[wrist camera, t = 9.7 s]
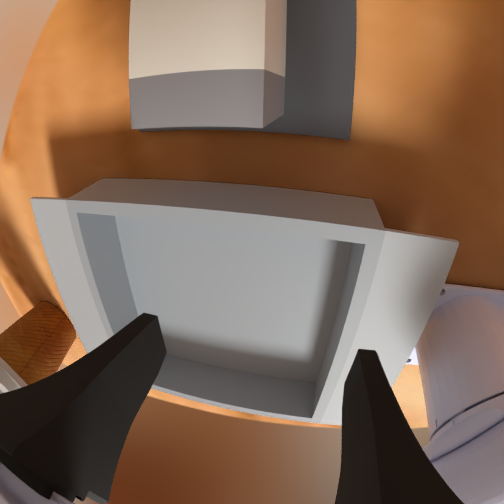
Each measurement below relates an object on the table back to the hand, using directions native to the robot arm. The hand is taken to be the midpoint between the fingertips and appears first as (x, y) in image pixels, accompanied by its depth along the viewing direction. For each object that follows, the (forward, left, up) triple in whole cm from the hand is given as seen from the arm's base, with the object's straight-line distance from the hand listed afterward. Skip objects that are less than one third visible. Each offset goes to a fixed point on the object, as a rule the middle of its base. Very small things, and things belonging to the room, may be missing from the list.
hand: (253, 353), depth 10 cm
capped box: (+3, -12, -9) cm, 15 cm away
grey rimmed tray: (+4, +6, -9) cm, 12 cm away
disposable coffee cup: (+26, +15, -10) cm, 32 cm away
